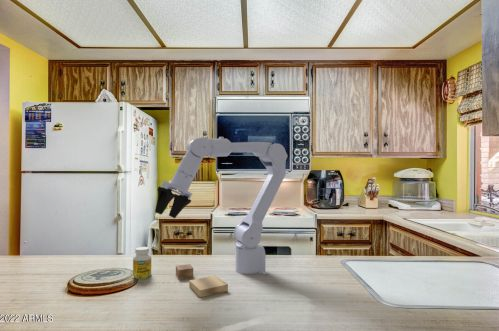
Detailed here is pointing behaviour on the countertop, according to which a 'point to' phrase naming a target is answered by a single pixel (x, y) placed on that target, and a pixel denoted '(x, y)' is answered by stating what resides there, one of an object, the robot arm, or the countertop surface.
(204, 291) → the tile top
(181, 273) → the block
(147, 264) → the supplement bottle
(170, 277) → the countertop surface
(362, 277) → the countertop surface
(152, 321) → the countertop surface
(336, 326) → the countertop surface
